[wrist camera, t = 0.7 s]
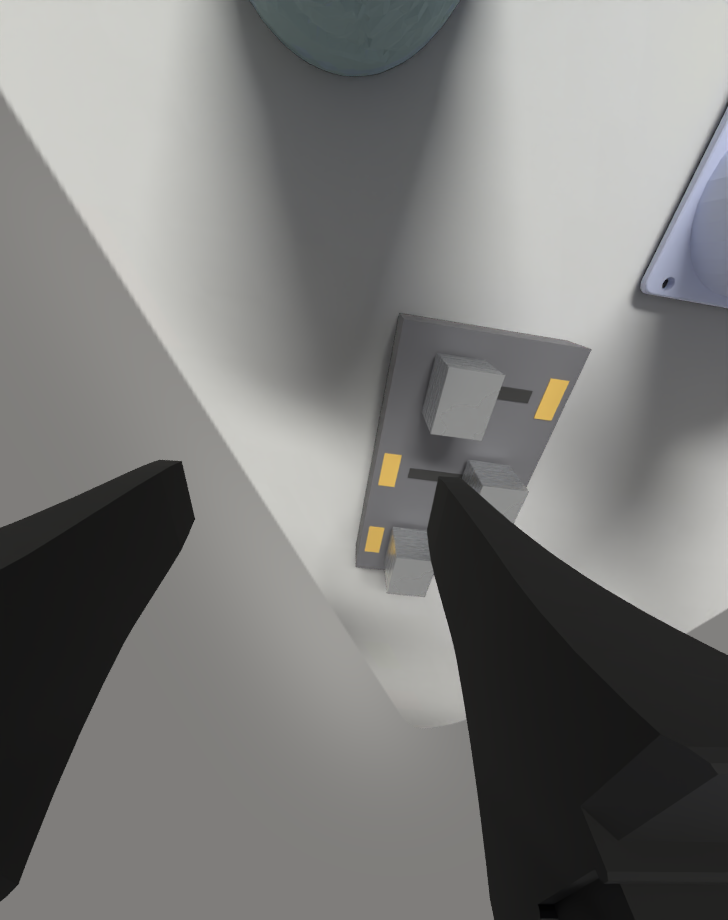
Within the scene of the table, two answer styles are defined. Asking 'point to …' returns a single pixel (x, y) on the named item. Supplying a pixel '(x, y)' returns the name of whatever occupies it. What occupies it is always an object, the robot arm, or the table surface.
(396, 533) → the knob
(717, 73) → the table surface
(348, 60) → the teal plant pot
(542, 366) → the switch panel
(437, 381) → the knob
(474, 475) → the knob
